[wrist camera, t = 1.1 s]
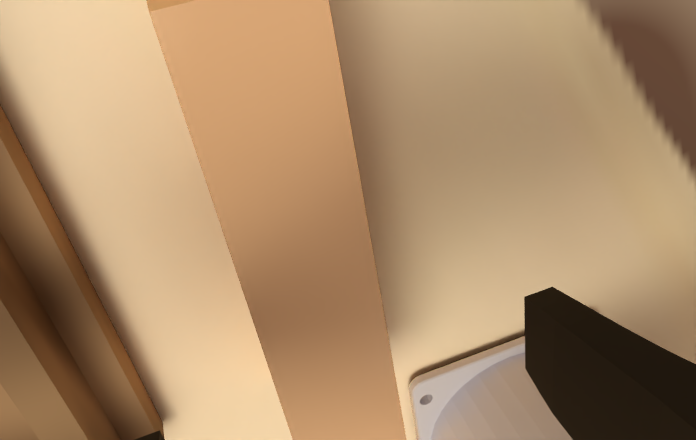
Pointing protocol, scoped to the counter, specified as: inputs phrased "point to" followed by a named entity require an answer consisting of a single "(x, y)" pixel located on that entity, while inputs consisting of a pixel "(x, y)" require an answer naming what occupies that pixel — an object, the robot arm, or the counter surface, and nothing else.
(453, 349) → the counter surface
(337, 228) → the clay bar
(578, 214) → the counter surface
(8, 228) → the drying rack
